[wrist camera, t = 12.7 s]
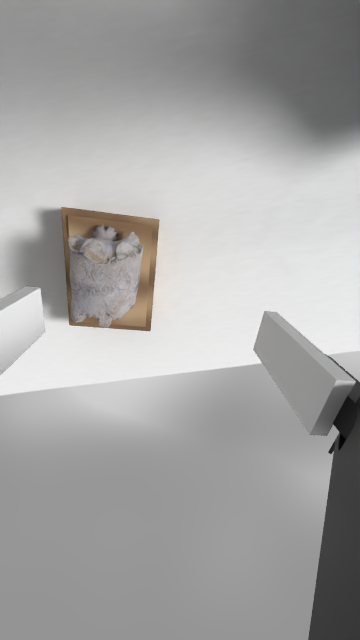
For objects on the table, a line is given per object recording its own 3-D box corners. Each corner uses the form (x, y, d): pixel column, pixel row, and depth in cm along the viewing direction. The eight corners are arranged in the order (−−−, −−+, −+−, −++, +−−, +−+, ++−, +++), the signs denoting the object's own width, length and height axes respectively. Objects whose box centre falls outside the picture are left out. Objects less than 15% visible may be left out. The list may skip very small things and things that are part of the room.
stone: (79, 309, 34) (62, 330, 27) (81, 220, 29) (61, 221, 23) (136, 316, 35) (131, 338, 29) (145, 232, 30) (143, 237, 24)
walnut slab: (72, 208, 32) (60, 207, 28) (159, 219, 34) (159, 219, 30) (78, 315, 39) (68, 326, 35) (151, 320, 40) (150, 332, 36)
